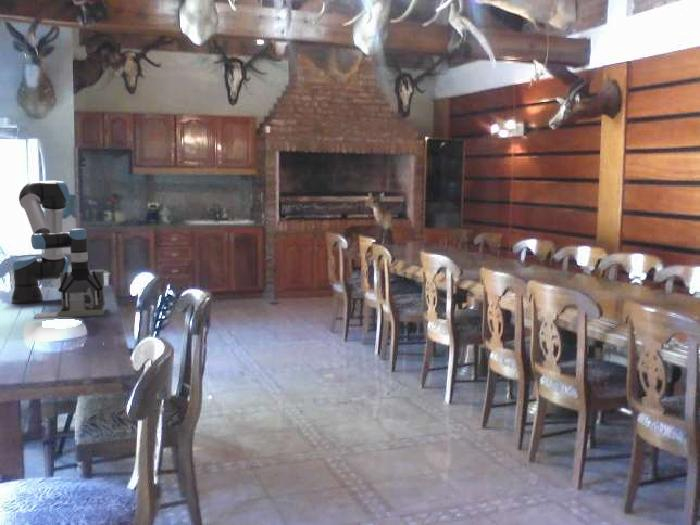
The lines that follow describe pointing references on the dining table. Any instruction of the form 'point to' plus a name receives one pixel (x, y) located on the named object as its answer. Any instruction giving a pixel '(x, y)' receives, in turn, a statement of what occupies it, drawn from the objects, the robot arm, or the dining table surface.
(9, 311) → the dining table surface
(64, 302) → the case
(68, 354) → the dining table surface
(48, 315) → the trivet
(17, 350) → the dining table surface
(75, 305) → the mug
